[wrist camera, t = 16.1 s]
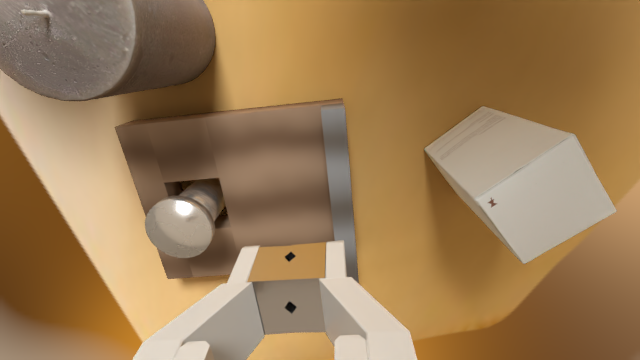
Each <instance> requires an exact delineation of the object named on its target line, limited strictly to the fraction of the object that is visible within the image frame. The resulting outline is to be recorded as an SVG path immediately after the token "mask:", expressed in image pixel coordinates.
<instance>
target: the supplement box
mask: <svg viewBox="0 0 640 360" xmlns="http://www.w3.org/2000/svg"><path fill="white" fill-rule="evenodd" d="M424 150H425V152H426V153H427V155H428V156H429V157H430V159H431V160H432V161H433V163H434V164H435V166H436V167H437V168H438V170H439V171H440V173H441V174H442V175H443V177H444V178H445V179H446V181H447V182H448V183H449V184H450V186H451V187H452V188H453V190H454V191H455V192H456V193H457V195H458V196H459V197H460V198H461V199H462V200H463V201H464V202H465V203H466V204H467V205H468V206H469V207H470V208H471V209H472V210H473V212H474V213H475V214H476V215H477V216H478V217H479V218H480V219H481V220H482V221H483V222H484V223H485V224H486V225H487V227H488V228H489V229H490V230H491V231H492V232H493V233H494V234H495V235H496V236H497V237H498V238H499V239H500V240H501V241H502V242H503V243H504V245H505V246H506V247H507V248H508V249H509V250H510V251H511V252H512V253H513V254H514V255H515V256H516V257H517V258H518V259H519V260H520V261H521V262H522V263H523V264H526V263H528V262H529V261H531V260H533V259H534V258H536V257H538V256H540V255H541V254H543V253H545V252H546V251H548V250H550V249H552V248H553V247H555V246H557V245H559V244H561V243H562V242H564V241H566V240H568V239H569V238H571V237H573V236H575V235H576V234H578V233H580V232H582V231H583V230H585V229H587V228H589V227H590V226H592V225H594V224H596V223H598V222H599V221H601V220H603V219H605V218H606V217H608V216H610V215H612V214H614V213H615V212H617V210H616V208H615V207H614V205H613V203H612V201H611V200H610V198H609V196H608V194H607V193H606V191H605V189H604V187H603V186H602V184H601V182H600V181H599V179H598V177H597V175H596V173H595V171H594V169H593V167H592V165H591V164H590V162H589V160H588V158H587V156H586V154H585V152H584V150H583V148H582V147H581V145H580V143H579V141H578V139H577V137H576V135H575V134H573V133H569V132H565V131H561V130H558V129H555V128H551V127H548V126H545V125H542V124H539V123H536V122H533V121H530V120H527V119H523V118H520V117H517V116H514V115H511V114H508V113H504V112H501V111H498V110H495V109H491V108H488V107H485V106H482V107H480V108H479V109H478V110H476V111H475V112H473V113H472V114H471V115H469V116H468V117H467V118H465V119H464V120H463V121H461V122H460V123H458V124H457V125H456V126H454V127H453V128H452V129H450V130H449V131H448V132H446V133H445V134H443V135H442V136H441V137H439V138H438V139H437V140H435V141H434V142H433V143H431V144H430V145H429V146H427V147H426V148H424Z"/></svg>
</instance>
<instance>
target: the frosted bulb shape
mask: <svg viewBox="0 0 640 360" xmlns="http://www.w3.org/2000/svg"><path fill="white" fill-rule="evenodd" d="M225 205H226V204H225V200H224V196H223V192H222V188H221V184H220V180H219V179H217V178H209V179H199V180H195V181H194V182H193V183H191V184H190V185H189V186H188V187H187V188H186V189H185V190H184V191H183V192H182V193H181V194H180V195H179V196H169V197H166V198H164V199H162V200H160V201H159V202H158V203H157V204H156V205H154V206H153V207H152V208H151V209H150V210H149V212H148V214H147V216H146V220H145V229H146V233H147V235H148V237H149V239H150V240H151V242H152V243H153V244H154V245H155V246H156V247H157V248H158V249H159V250H161V251H162V252H164V253H166V254H168V255H170V256H173V257H178V258H190V257H194V256H197V255H199V254H201V253H202V252H204V251H205V250H206V248H207V247H208V246H209V244H210V242H211V241H212V239H213V237H214V234H215V223H214V221H215V220H216V218H217V217H218V216H219V214H220V213H221V211H222V210H223V208H224V207H225Z"/></svg>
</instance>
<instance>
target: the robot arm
mask: <svg viewBox="0 0 640 360" xmlns="http://www.w3.org/2000/svg"><path fill="white" fill-rule="evenodd" d="M295 332H326V334H327V336H328V338H329V339H330V341H331V342H332V344H333V345H334V347H335V358H334V360H417V357H416V353H415V350H414V346H413V342H412V338H411V334H410V331H409V330H408V329H406V328H405V327H404V326H403V325H402V324H401V323H400V322H399V321H398V320H397V319H396V318H395V317H394V316H393V315H392V314H390V313H389V312H388V311H387V310H386V309H385V308H384V307H383V306H382V305H381V304H380V303H379V302H378V301H377V300H376V299H374V298H373V297H372V296H371V295H370V294H369V293H368V292H367V291H366V290H365V289H364V288H363V287H362V286H361V285H360V284H358V283H357V282H356V281H355V280H354V279H353V278H352V277H347V272H346V259H345V246H344V241H343V240H339V241H329V242H321V243H308V244H295V245H294V244H285V245H261V246H245V247H243V248H242V249H241V251H240V254H239V256H238V258H237V261H236V263H235V265H234V268H233V270H232V272H231V275H230V277H229V279H228V281H227V284H221V285H219V286H218V287H217V288H215V289H214V290H213V291H211V292H210V293H209V294H207V295H206V296H205V297H203V298H202V299H200V300H199V301H198V302H196V303H195V304H194V305H192V306H191V307H190V308H188V309H187V310H186V311H184V312H183V313H182V314H180V315H179V316H178V317H176V318H175V319H174V320H172V321H171V322H170V323H168V324H167V325H165V326H164V327H163V328H161V329H160V330H159V331H157V332H156V333H155V334H153V335H152V336H151V337H149V338H148V339H147V340H145V341H144V342H143V343H142V345H141V347H140V348H139V350H138V352H137V353H136V355H135V356H134V358H133V360H246V359H247V358H248V357H249V355H250V354H251V353H252V352H253V350H254V349H255V348H256V347H257V345H258V344H259V343H260V342H261V340H262V339H263V338H264V337H265V336H264V335H266V334H281V333H295Z"/></svg>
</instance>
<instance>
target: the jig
mask: <svg viewBox="0 0 640 360" xmlns="http://www.w3.org/2000/svg"><path fill="white" fill-rule="evenodd" d="M115 129H116V132H117V135H118V138H119V141H120V144H121V146H122V149H123V152H124V155H125V158H126V161H127V164H128V166H129V169H130V172H131V175H132V178H133V181H134V184H135V187H136V189H137V192H138V195H139V198H140V201H141V204H142V207H143V209H144V212H145V215H146V216H147V214H148V212H149V210H150V209H151V208H152V207H153V206H154V205H156V204H157V203H158V202H159V201H160V200H162V199H164V198H166V197H169V196H179V195H180V194H181V193H182V192H183V191H182V188H181V184H180V181H188V180H199V179H209V178H219V179H220V184H221V188H222V192H223V196H224V200H225V204H226V208H227V213H228V215H226V216H218V217H217V218H216V220H215V221H214V223H215V234H214V237H213V239H212V241H211V242H210V244H209V246H208V247H207V248H206V250H205V251H204V252H202V253H201V254H199V255H197V256H194V257H190V258H178V257H173V256H170V255H168V254H166V253H164V252H162V251H161V250H159V249H158V248H157V250H158V252H159V255H160V258H161V261H162V264H163V267H164V270H165V273H166V275H167V278H168V279H175V278H189V277H203V276H217V275H231V272H232V270H233V268H234V265H235V263H236V261H237V258H238V256H239V254H240V251H241V249H242V248H243V247H245V246H261V245H285V244H294V245H295V244H308V243H321V242H329V241H339V240H343V241H344V246H345V259H346V272H347V277H352V278H353V279H354V280H355V281H356V282H357V283H358V284H359V281H358V268H357V255H356V242H355V230H354V217H353V204H352V192H351V179H350V166H349V153H348V141H347V128H346V115H345V106H344V103H343V99H333V100H324V101H314V102H305V103H295V104H286V105H277V106H267V107H258V108H249V109H239V110H230V111H220V112H211V113H202V114H192V115H183V116H174V117H164V118H155V119H146V120H136V121H131V122H128V123H125V124H122V125H119V126H116V127H115Z"/></svg>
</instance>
